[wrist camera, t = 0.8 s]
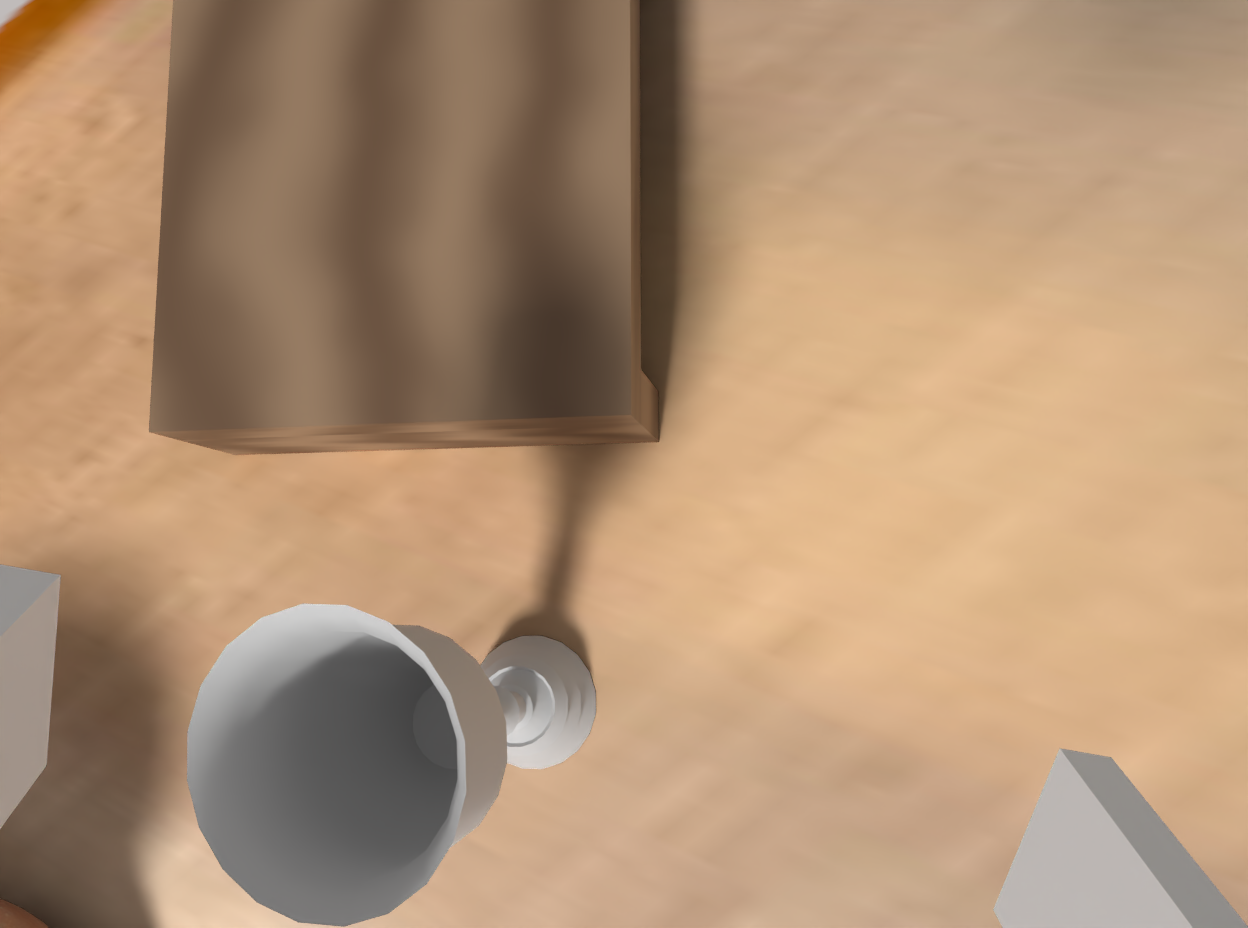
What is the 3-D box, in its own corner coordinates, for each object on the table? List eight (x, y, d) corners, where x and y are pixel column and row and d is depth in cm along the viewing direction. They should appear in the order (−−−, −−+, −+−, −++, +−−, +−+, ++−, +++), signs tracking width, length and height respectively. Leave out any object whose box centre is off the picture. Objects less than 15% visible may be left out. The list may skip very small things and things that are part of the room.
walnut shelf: (655, -80, 46) (629, -181, 41) (658, 441, 43) (631, 414, 38) (257, -34, 50) (179, -120, 44) (234, 454, 47) (148, 432, 41)
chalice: (417, 656, 44) (141, 684, 27) (566, 576, 43) (383, 549, 26) (497, 829, 43) (260, 979, 25) (652, 749, 42) (520, 845, 24)
